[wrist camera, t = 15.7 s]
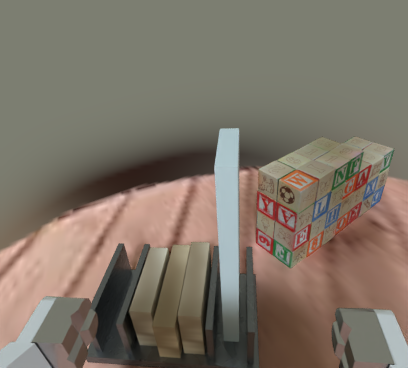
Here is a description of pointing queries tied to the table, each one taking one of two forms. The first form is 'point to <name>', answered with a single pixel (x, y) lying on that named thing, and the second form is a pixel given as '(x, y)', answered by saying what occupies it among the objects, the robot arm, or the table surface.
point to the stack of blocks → (317, 194)
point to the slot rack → (188, 363)
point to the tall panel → (228, 228)
